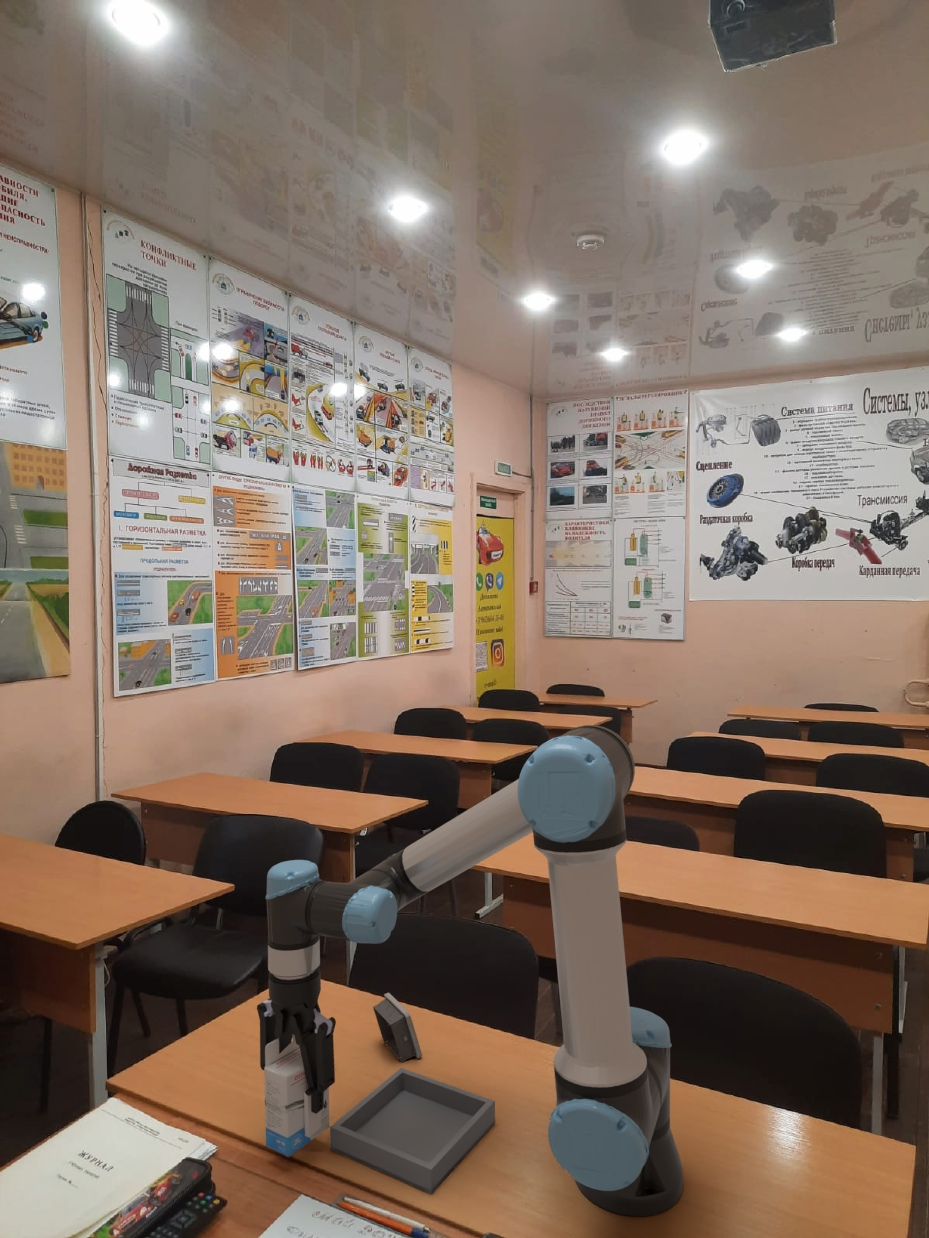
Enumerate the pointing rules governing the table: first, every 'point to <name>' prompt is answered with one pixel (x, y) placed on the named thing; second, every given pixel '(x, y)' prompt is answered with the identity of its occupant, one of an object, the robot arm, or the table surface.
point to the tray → (413, 1129)
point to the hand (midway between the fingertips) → (298, 1124)
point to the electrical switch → (397, 1028)
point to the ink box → (287, 1099)
